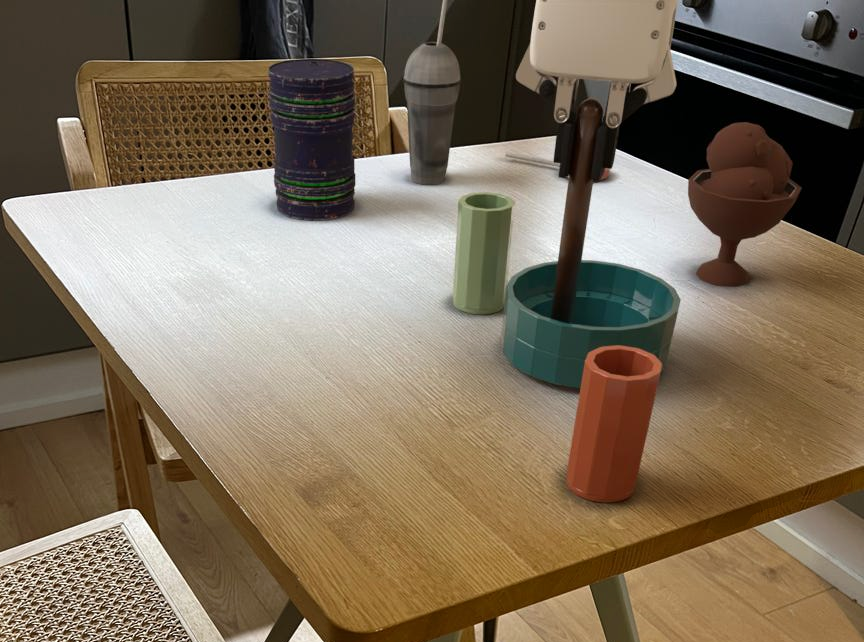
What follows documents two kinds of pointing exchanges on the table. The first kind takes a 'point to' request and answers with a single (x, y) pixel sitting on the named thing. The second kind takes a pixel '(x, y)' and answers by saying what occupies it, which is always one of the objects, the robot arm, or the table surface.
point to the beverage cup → (431, 107)
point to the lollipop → (545, 161)
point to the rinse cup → (482, 252)
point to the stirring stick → (576, 210)
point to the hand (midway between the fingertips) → (581, 173)
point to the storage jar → (313, 137)
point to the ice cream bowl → (740, 195)
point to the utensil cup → (612, 422)
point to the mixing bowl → (585, 318)
